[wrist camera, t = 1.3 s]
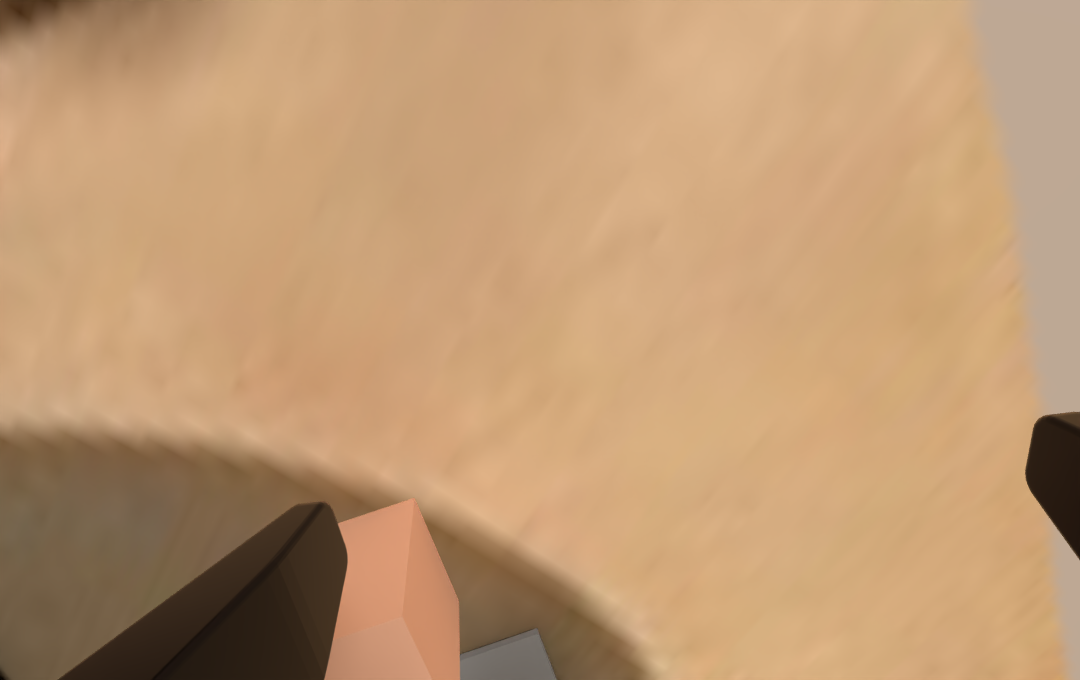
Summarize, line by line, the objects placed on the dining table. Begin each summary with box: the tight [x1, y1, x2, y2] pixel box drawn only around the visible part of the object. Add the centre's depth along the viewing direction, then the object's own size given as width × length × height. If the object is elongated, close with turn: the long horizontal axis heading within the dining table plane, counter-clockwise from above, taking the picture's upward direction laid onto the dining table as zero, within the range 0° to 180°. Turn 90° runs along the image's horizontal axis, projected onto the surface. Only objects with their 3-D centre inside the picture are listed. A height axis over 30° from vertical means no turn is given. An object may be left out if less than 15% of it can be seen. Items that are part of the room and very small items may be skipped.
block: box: [324, 498, 460, 680], centre depth 21 cm, size 5×5×6 cm
